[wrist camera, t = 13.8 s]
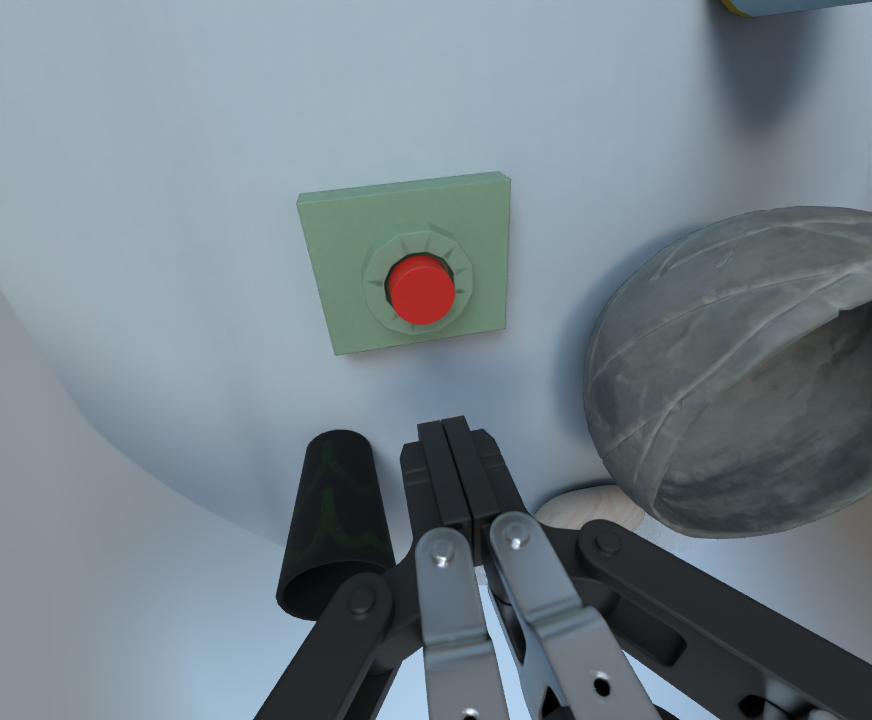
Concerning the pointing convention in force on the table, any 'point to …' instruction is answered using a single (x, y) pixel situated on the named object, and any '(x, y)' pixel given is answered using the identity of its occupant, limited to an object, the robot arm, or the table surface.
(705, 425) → the bowl
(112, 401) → the table surface
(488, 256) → the green button base
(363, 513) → the cup
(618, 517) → the decorative stone
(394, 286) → the timer button
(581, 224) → the table surface
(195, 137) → the table surface
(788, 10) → the bottle
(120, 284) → the table surface
